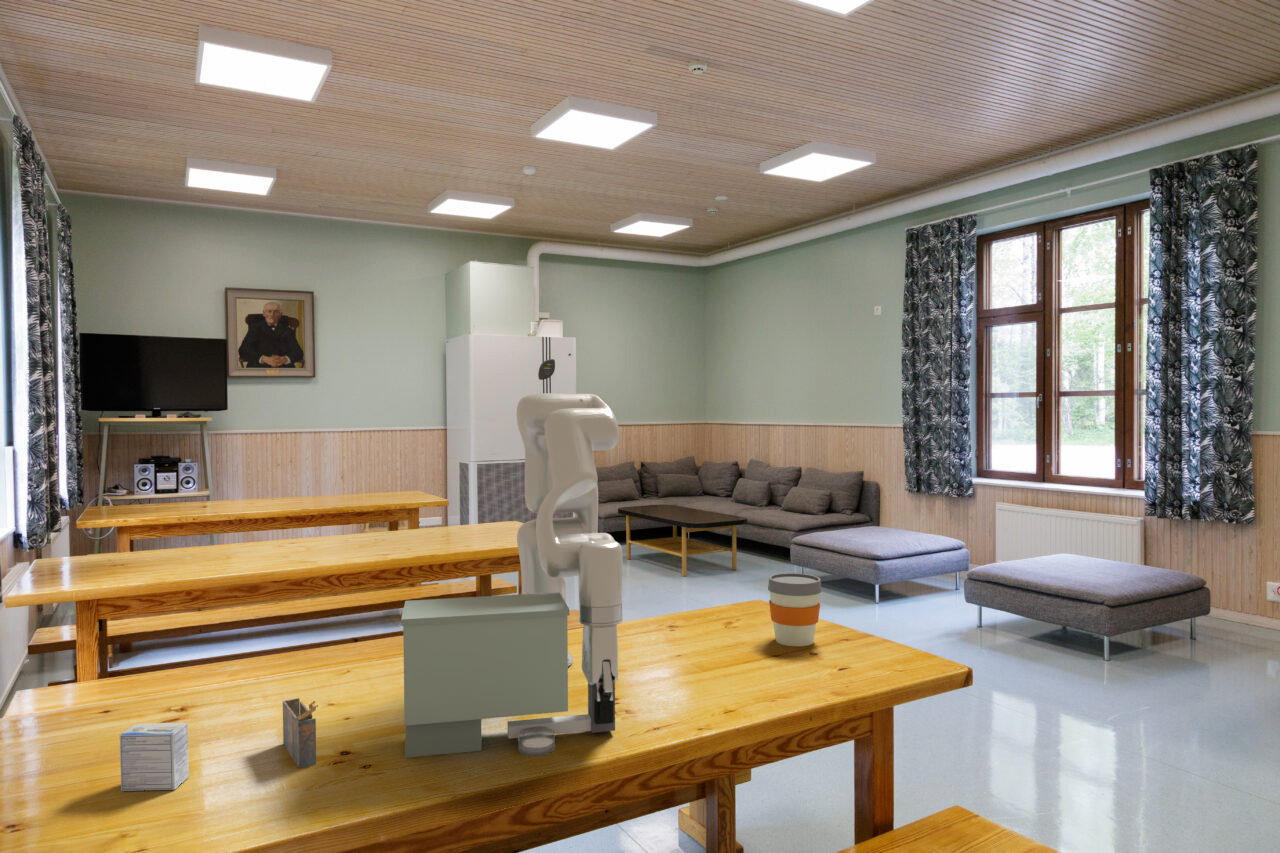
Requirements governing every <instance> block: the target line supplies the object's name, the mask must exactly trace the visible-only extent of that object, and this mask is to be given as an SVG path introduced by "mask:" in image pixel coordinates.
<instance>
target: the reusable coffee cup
mask: <svg viewBox="0 0 1280 853" xmlns="http://www.w3.org/2000/svg"><path fill="white" fill-rule="evenodd" d="M767 584H768V585H767V586H768V587H767V590H768V591H769V597H770V599H769V600H768V602H769V603H768V604H769V612H770V613H769V614H770V619H771V621H772V623H773V629H774V631H773V632H774V638H775V642H776V643H778V644H780V645H783V646H788V647H807V646H811V645H813V644H814V641H815V636H816V635H815V633H816V628H817V627H816V626H817V623H818V622H819V619H820V618H819V616H820V609H821V602H820V596H821V593H822V592H823V591H822V590H823V589H822V582H821V578H820V577H818V576H816V575H813V574H808V573H807V574H806V573H799V572H798V573H794V572H787V573H785V572H783V573H777V574H772V575H770V576H769V578H768V583H767Z"/></svg>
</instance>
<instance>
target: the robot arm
mask: <svg viewBox="0 0 1280 853" xmlns="http://www.w3.org/2000/svg"><path fill="white" fill-rule="evenodd" d="M517 403H518V404H517V405H516V406H517V407H516V422H517V427H518V430H519V433H520V436H521V439H522V443H523V448H524V501H525V505H526V508H527V509H528V511H530V512H531V513H533V514H537V516H536V519H532V520H528V521H526V522H523V524H521V525H520V526H519V528H518V531H517V533H516V543H517V551H518V556H519V561H520V562H519V564H520V574H521V579H520V580H521V594H539V593H557V592H560V594H561V596H562V597H563V599H564V601H565V603H566V600H567V599H566V598H567V597H566V593H567V592H566V589H567V588H566V581H565V578H569V577H578V610H579V611H578V621H579V623H580V624H581V625H583V626H582V641H581V642H582V649H581V671H582V673H583V674H584V677H585V679H586V681H587V684H588V683H589V684H590V685H594V683H596V700H594V721H595V724H606V723H613V683H615V684H616V683H617V682H618V678H619V644H618V640H619V639H618V638H619V636H618V625H620V624H622V623H623V621H624V619H623V618H624V616H623V614H624V613H623V611H624V610H623V608H624V607H623V606H624V602H623V601H624V599H623V598H624V597H623V593H624V592H623V591H624V590H623V589H624V588H623V581H624V580H623V563H624V562H623V548H622V545H621V543H619V542H618V541H616V540H615V539H614V537H613V536H612V535H611V534H610V533H607V532H599V530H598V527H599V526H598V525H599V487H598V481H599V480H598V473H597V467H596V462H595V458H594V451H610V450H613V449H614V448H615V447H616V446H617V445H618V444H617V443H618V441H619V435H620V434H619V433H620V430H619V424H618V420H617V418H616V415H615V414H614V412H613V410H612V409H611V408H610V406H609V405H608V404H607V403H606V402H605V401H603V399H601V397H599V396H598V395H596V394H593V393H563V392H562V393H560V392H559V393H558V392H556V393H555V392H553V393H552V392H548V393H547V392H546V393H544V392H543V393H533V394H532V393H531V394H528V395H524V396H522V398H521V399H520V400H519V401H518V402H517ZM565 513H566V514H568V513H574V517H572V516H571V517H554V514H565ZM566 604H567V603H566ZM573 662H574V656H573V654H571V653H570V652H568V667H570V666H571V665H572V664H573ZM599 679H603V681H602V682H599ZM612 682H613V683H612ZM600 686H603V689H601V691H600Z"/></svg>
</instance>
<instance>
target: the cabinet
mask: <svg viewBox="0 0 1280 853" xmlns="http://www.w3.org/2000/svg"><path fill="white" fill-rule="evenodd" d="M569 616H570V608H569V606H568V605H567V603H565V601H564V599H563V597H562V596H561V594H560V592H557V593H539V594H522V593H521V594H505V595H490V596H489V595H488V596H485V595H484V596H469V597H453V598H452V597H450V598H434V599H419V600H418V599H416V600H415V599H414V600H405V602H404V606H403V610H402V614H401V619H400V626H402V628H403V629H402V630H403V632H402V633H403V635H402V636H403V638H402V639H403V640H402V641H403V642H402V643H403V706H404V707H403V709H404V713H403V714H404V717H403V718H404V730H405V732H404V733H405V734H404V736H405V758H406V759H408V758H409V759H410V758H419V757H431V756H437V755H438V756H439V755H440V756H441V755H449V754H459V753H471V752H481V751H482V749H483V748H482V737H483V736H482V720H484V719H498V718H507V717H519V716H528V715H529V716H531V715H542V714H553V713H565V712H569V680H568V679H569V675H568V674H569V668H568V667H569V666H568V653H569V650H568V649H569V646H568V645H569V644H568V635H569V634H568V617H569Z"/></svg>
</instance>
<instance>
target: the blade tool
mask: <svg viewBox="0 0 1280 853" xmlns="http://www.w3.org/2000/svg"><path fill="white" fill-rule="evenodd" d="M602 681H603V679H599V682H602ZM612 683H613V682H612ZM601 689H603V686H600V691H601ZM594 700H596V683H594V685H590V684H589V683H588V682H587V712H588V713H587V714H576V715H564V716H555V717H554V716H553V717H543V718H542V717H541V718H531V719H520V720H519V719H518V720H508V721H507V737H508V739H518V733H519V732H520V731H521V730H523V729H526V728H530V727H547V728H551V729H552V730H554V732H555V735H562V734H573V733H584V732H591V733H592V734H595V733H603V732H612V731H613V732H614V731H616V682H615V683H613V723H606V724H595V721H594Z"/></svg>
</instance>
